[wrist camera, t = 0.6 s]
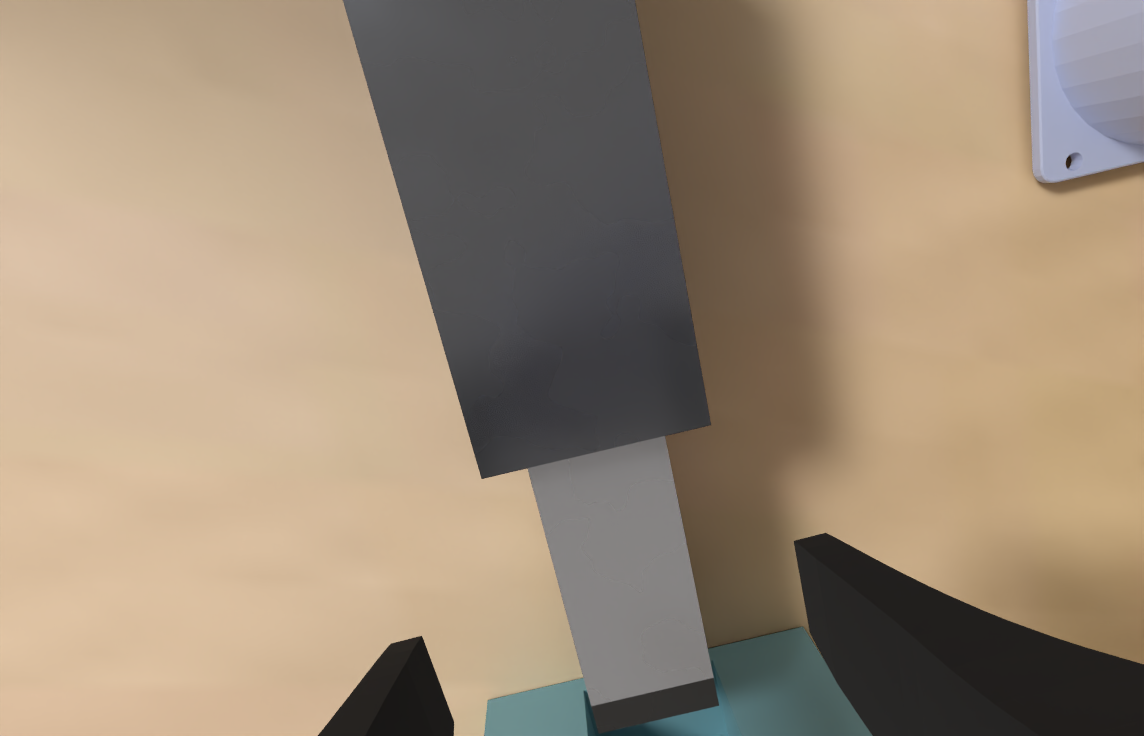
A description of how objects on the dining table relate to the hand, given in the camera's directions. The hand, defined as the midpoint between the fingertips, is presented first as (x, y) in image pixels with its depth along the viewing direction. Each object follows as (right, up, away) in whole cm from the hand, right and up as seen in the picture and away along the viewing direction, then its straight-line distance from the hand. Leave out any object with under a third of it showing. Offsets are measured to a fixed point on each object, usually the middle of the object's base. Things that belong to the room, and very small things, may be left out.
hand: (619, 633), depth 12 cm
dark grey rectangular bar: (-2, +11, +7) cm, 13 cm away
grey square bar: (-1, +4, +8) cm, 9 cm away
